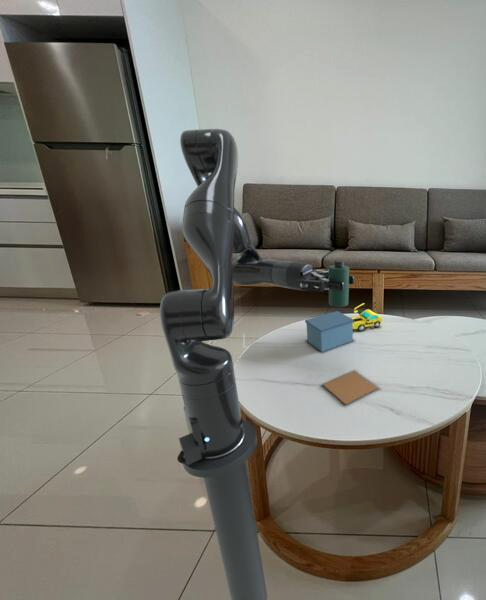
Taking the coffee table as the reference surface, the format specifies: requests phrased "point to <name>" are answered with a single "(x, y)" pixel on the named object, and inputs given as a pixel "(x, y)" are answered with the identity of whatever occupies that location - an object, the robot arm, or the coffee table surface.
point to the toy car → (366, 319)
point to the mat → (349, 387)
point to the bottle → (339, 274)
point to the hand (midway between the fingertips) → (348, 283)
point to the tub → (329, 330)
